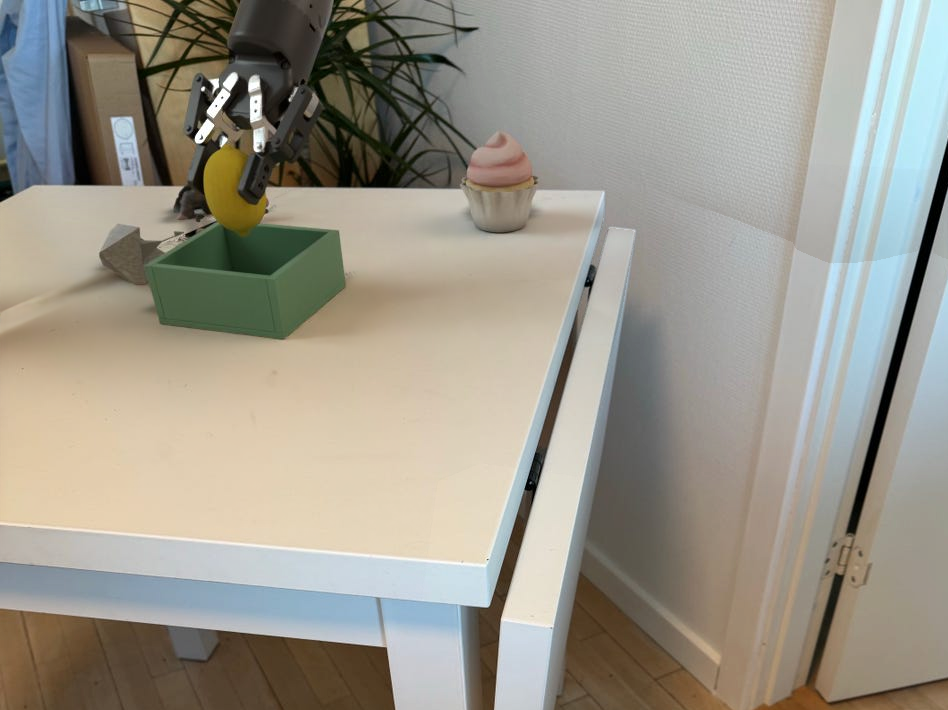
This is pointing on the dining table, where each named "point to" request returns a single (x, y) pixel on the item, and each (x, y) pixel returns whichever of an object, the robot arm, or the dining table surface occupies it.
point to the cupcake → (500, 185)
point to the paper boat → (130, 252)
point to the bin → (247, 279)
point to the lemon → (230, 191)
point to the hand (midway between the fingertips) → (221, 194)
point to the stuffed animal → (193, 207)
